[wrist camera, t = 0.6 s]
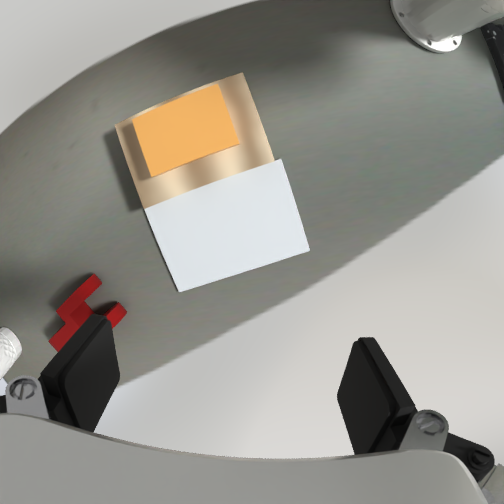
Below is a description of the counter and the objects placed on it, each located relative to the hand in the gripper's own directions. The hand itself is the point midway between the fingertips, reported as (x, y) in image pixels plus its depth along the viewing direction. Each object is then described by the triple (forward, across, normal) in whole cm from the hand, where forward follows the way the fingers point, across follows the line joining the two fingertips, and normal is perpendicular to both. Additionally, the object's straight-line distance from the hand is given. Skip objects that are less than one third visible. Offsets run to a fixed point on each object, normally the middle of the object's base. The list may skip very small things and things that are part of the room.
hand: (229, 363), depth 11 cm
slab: (+25, +7, -10) cm, 28 cm away
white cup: (+28, +45, +27) cm, 60 cm away
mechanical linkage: (+28, +24, +17) cm, 41 cm away
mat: (+28, +2, +1) cm, 28 cm away
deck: (+28, +7, -9) cm, 30 cm away
